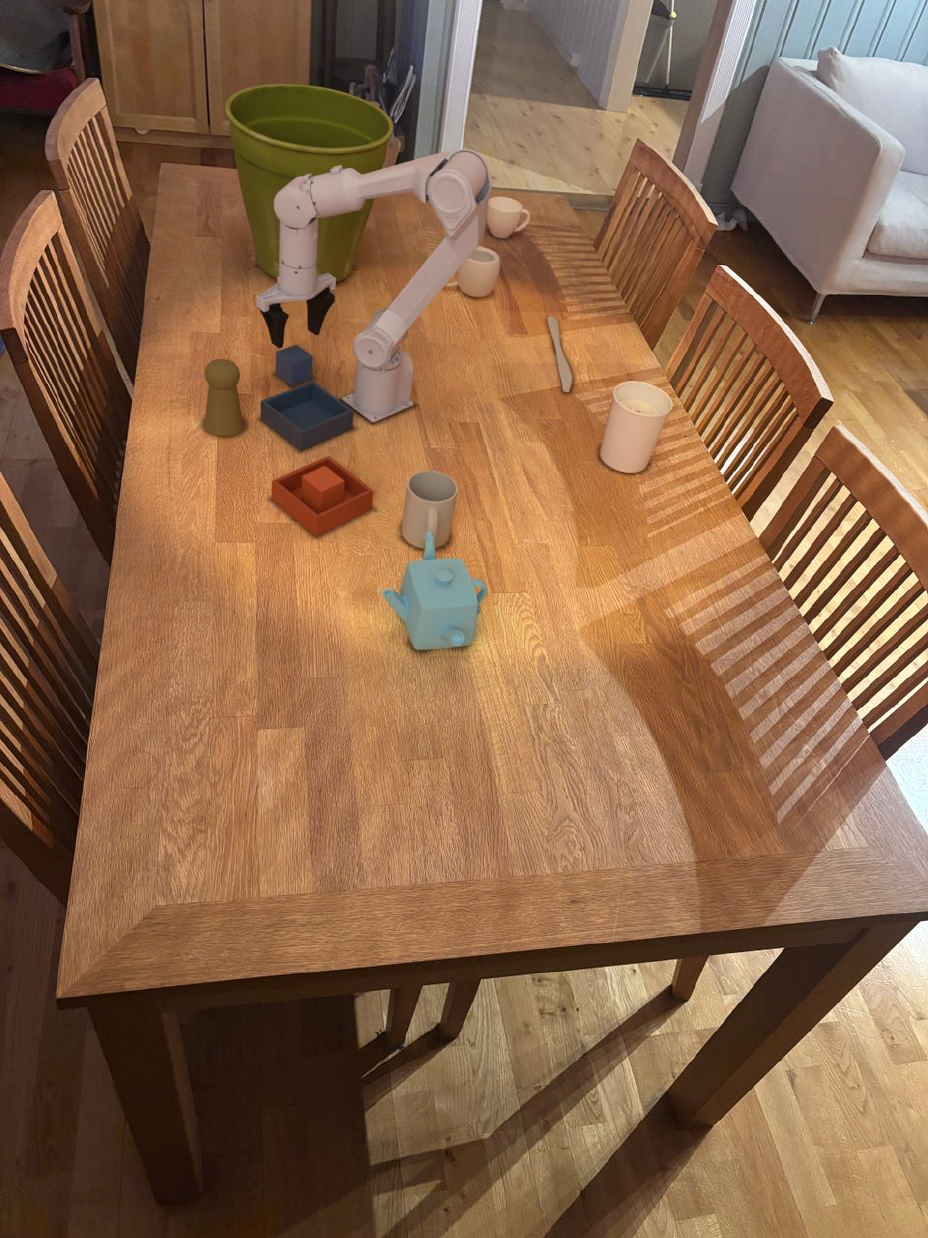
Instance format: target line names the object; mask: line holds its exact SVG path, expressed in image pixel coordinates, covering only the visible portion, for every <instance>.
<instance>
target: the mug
mask: <svg viewBox="0 0 928 1238" xmlns="http://www.w3.org/2000/svg"><path fill="white" fill-rule="evenodd" d="M500 269H501V260H500V256H499V254H498V253H497V252H495V251H494V250H493V249H490V248H487V247H485V246H478V247H477V248H476V249H475V251H474V252H473V253H472V254H471V255H470V256H469V258H468V259H467V260H466V261H465V262H464V264H463V265H462V266H461V267H460V268H459V269H458V271H457V272H456V280H457V281H454V282H450V283H449V282H447V284H446V285H445V286H444V287H447V288H453V287H455V286H458V288H459V289H460V291H461V292H462V293H463V294H464V295H466V296H469V297H472V298H484V297H487V296H488V295H489V294H490V293H491V292H493V290H494V288H495V286H496V285H497V282H498V279H499V276H500V275H499V274H500V271H501V270H500Z"/></svg>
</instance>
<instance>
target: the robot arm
mask: <svg viewBox="0 0 928 1238" xmlns="http://www.w3.org/2000/svg"><path fill="white" fill-rule="evenodd" d="M450 154H451V151H442V152H437V153H434V154H431V155H426V156H423V157H419V158H415V159H412V160H409V161H405V162H402V163H398V164H394V165H391V166H388V167H383V168H382V169H380V170H377V171H373V172H370V173H366V174H363V175H362V174H360V173H358V172H357V171H356V170H354V169H352V168H347V169H343V168H342V166H341V165H339V166H335V167H333V168H332V169H331V170H330V171H331V172H330V173H326V174H322V175H318V176H313V177H312V174H307V175H305V176H300V177H296V178H295V179H293V180H292V181H291V182H290V183H288V184H287V185H286V186H285V187H284V188H282V189H281V190H280V191H279V192H278V194H277V195H276V197H275V199H274V210H275V213H276V215H277V217H278V218H279V220H280V240H279V277H277V278H276V283H275V284H274V285H272V286H270V287H269V288H268V289H267V290H265V291H264V292H261V293H259V294H257V295H256V299H255V302H256V303H255V307H256V308H257V309H258V311H259V313H260V314H261V315H262V317H263V320H264V322H265V325H266V327H267V330H268V333H269V338H270V342H271V344H272V345H273V346H275V347H276V348H278V349H282V348H284V343H285V329H286V325H287V322H288V319H289V317H290V314H289V313H287V312H285V311H284V310H283V306H282V304H286V303H293V302H303V301H304V302H305V301H306V309H307V310H306V311H307V313H306V315H307V317H306V320H307V321H306V323H307V324H306V325H307V330H308V331H309V332H310V333H311V334H313V335H314V336H319V335H320V333H321V330H322V326H323V323H324V321H325V318H326V316H327V314H328V312H329V310H330V309H331V307H332V306H333V305H334V304H335V302H336V295H335V294H334V293H332V292H331V291H334V290H336V286H337V285H336V284H337V282H336V278H335V277H333V276H332V275H330V274H323V275H316V263H317V240H318V218H326V217H330V216H335V215H339V214H344V213H349V212H353V211H358V210H360V209H361V208H362V207H363V205H364V203H365V201H366V199H371V198H374V199H377V198H384V197H390V196H396V195H400V194H402V195H403V194H409V193H412V194H414V195H415V196H416V198H417V199H419V200H420V202H421V203H422V204H424V205H425V204H427V203H428V202H430V204H431V207H432V209H433V210H434V212H435V214H436V215H437V217H438V219H439V222H440V223H441V225H442V226H443V230H444V235H445V236H444V238H443V239H442V240H441V242H439V243H438V245H437V246H436V247H435V249H433V251H432V252H431V253H430V255H429V256H427V258H426V259H425V261H424V262H423V263H422V265H420V267H419V269H418V270H416V272H415V273H414V274H413V276H412V277H411V278H410V279H409V281H408V282H407V283H406V284H405V286H403V288H402V289H401V290H400V292H399V293H398V294H397V295H396V297H395V298H394V299H393V300H392V302H391V303H390V304H389V305H388V306H386V307H384V308H381V309H379V310H377V311H376V312H375V313H374V314H373V315H372V318H371V319H370V320H369V322H368V323H367V324H366V326H365V327H364V328H363V330H361V332H359V333H358V334H357V336H355V338H354V339H353V342H352V352H353V355H354V357H355V358H356V362H355V373H354V374H355V375H354V386H353V387H354V388H353V392H352V393H350V394H348V395H345V396H343V397H342V398H341V402H343V403H344V404H345V405H347V406H348V407H349V408H351V409H352V410H353V411H356V412H357V413H359V415H362V417H364V418H365V419H367V420H368V421H369V422H371V423H376V422H378V421H382V420H383V419H385V418H387V417H390V416H393V415H395V414H397V413H399V412H401V411H404V410H406V409H409V408H410V407H413V406H414V402H413V401H412V400H411V397H412V396H411V395H412V389H413V381H414V372H415V370H414V369H415V368H414V364H413V360H412V358H411V357H410V355H409V354H408V352H407V351H406V350H404V349H403V348H400V347H401V345H402V344H403V343H404V342H405V340H406V339H407V337H408V335H409V328H410V327H411V326H412V325H413V324H414V323H415V321H416V320H417V319H418V318H419V317H420V315H422V313H423V312H424V311H425V310H426V308H427V307H428V306H429V305H430V304H431V302H433V300H434V299H435V298H436V297H437V295H438V294H439V293H440V292H441V291H442V290H443V289H444V288H445V287H446V286H445V285H446V284H447V283H449V281H451V279H452V278H453V277H454V275H455V274H457V271H458V269H459V268H460V267H461V266H462V265H463V264H464V262H465V261H466V260H467V259H468V258H469V256H470V255H471V254H472V253H473V252H474V251H475V249H476V248H477V247H479V246H480V244H481V243H482V241H483V239H484V238H485V237H484V236H485V231H486V224H487V218H486V215H487V207H488V200H489V199H490V197H491V193H492V188H493V184H492V183H493V182H492V180H491V175H490V171H489V167H488V164H487V161H486V160H485V158H484V156H482V155H481V154H480V153H479V152H477V151H476V150H473V149H469V148H462V149H458V150H456V151H455V152H453V154H451V155H450ZM449 155H450V156H449ZM448 156H449V158H448V159H447V157H448ZM342 169H343V170H342Z"/></svg>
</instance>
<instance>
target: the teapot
mask: <svg viewBox="0 0 928 1238" xmlns="http://www.w3.org/2000/svg"><path fill="white" fill-rule="evenodd" d="M423 551H424V552H423V555H422V558H421V560H412V561H409V562H408V563H407V566H406V569H405V572H404V575H403V578H402V581H401V585H400V589H399V592H397V591H395V590H394V589H393V588H388V589H384V590H381V594H382V596H383V598H384V600H385V601H386V602H387V603H388V604H389V605H390V607H391V608H392V609H393V610H394V611H395V613H396V614H397V615H398V617H400V619H401V620H402V622H403V624H404V627H405V631H406V633H407V635H408V638H409V641H410V643H411V645H412V647H413V649H414V650H416V651H427V650H428V651H429V650H441V649H451V648H460V647H468V646H471V645H472V643H473V642H474V640H475V637H476V634H477V627H478V616H479V615H480V614H481V612H482V609H481V605H480V604H481V603H482V602H483V600H484V599H485V598H486V597H487V595H488V592H489V591H488V590H489V589H488V588H489V587H488V586H487V584H486V582H484V580H482V579H479V578H471V575H470V573H469V571H468V568H467V566H466V564H465V562H464V561H463V559H462V558H458V557H457V558H456V557H455V558H453V557H452V558H438V557H437V552H436V548H435V544H434V538H433V536H432V534H431V533H430V532H426V533H425V549H424V550H423ZM475 588H479V589H480V590H479V591H478V593H477V592H476V589H475Z"/></svg>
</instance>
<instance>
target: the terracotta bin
mask: <svg viewBox="0 0 928 1238" xmlns="http://www.w3.org/2000/svg"><path fill="white" fill-rule="evenodd" d="M323 466H326V467H328V468H329V469H330V470H331V471H333V472H334V473H335V474H336V475H338V476H339V477H340V478H342V479H343V480H344V481H345V483H344V496H343V502H342V503H340V504H338V505H336V506H334V507H332V508H330V509H328V510H326V511H324V512H322V513H320V514H318V513H317V512H316V511H314V510H313V509H312V508H311V507H309V506H308V505H307V504H306V503H305V502H303V501H302V500H301V488H302V476H303V475H306V474H308V473H310V472H312V471H315V470H317V469H319V468H321V467H323ZM373 499H374V490H373V488H371V487H369V486H368V485H367V484H366V483H364V482H363V481H362V480H360V479H359V478H358V477H357V476H356V475H354V474H353V473H352V472H350V471H349V470H347V469H346V468H345V467H343V465H341V464H340V463H339V462H337V461H336V460H334V459H333V458H332V457H331V456H330V455H327V456H325V457H322V458H320V459H318V460H315V461H313V462H311V463H308V464H307V465H305V466H302V467H300V468H298V469H295V470H293V471H291V472H289V473H286V474H284V475H281V476H280V477H277V478H275V479H273V480H272V481H271V501H273V502H274V503H275V504H276V505H277V506H278V507H280V508H281V509H282V510H283V511H285V513H287V514H288V515H289V516H291V517H292V518H293V519H294V520H295V521H296V522H298V523H299V524H300V525H301V526H303V527H304V528H305V530H307V531H308V532H310V533H311V534H312V535H313V536H314V537H319V536H321V535H322V534H325V533H326V532H329V531H331V530H332V529H335V528H336V527H338V526H341V525H342V524H344V523H346V522H349V521H350V520H352V519H355V518H356V517H358V516H360V515H362V514H364V513H367V512H368V511H371V510H372V507H373Z"/></svg>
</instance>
